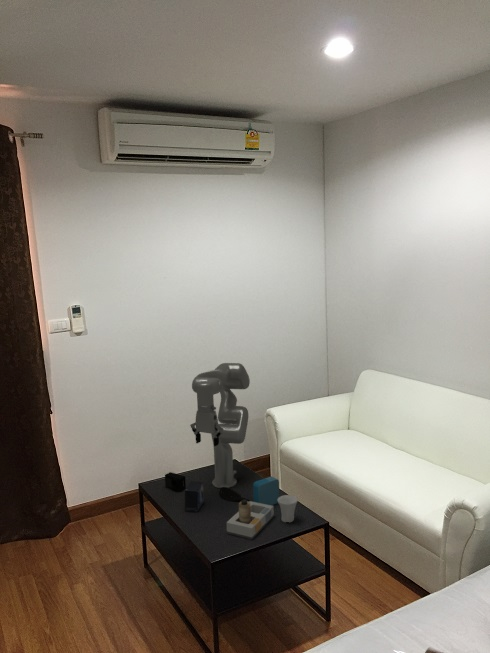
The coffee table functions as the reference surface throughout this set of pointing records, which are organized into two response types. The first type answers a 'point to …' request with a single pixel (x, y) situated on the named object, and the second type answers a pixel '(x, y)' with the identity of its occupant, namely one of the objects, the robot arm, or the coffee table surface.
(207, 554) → the coffee table surface
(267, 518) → the socket block
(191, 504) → the small box
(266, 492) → the data package
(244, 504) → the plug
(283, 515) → the cup
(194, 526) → the coffee table surface
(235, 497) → the hairbrush
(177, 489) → the digital camera
